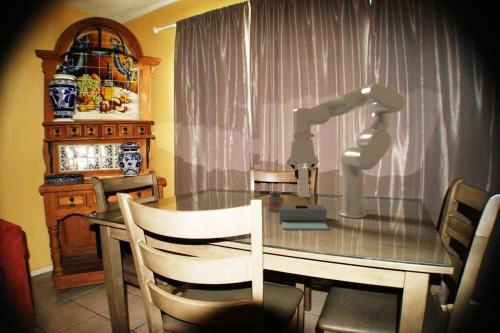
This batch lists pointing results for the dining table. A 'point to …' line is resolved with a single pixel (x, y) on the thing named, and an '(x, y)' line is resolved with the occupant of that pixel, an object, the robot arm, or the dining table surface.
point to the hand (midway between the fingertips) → (302, 178)
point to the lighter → (275, 201)
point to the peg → (303, 182)
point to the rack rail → (302, 213)
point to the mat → (304, 226)
